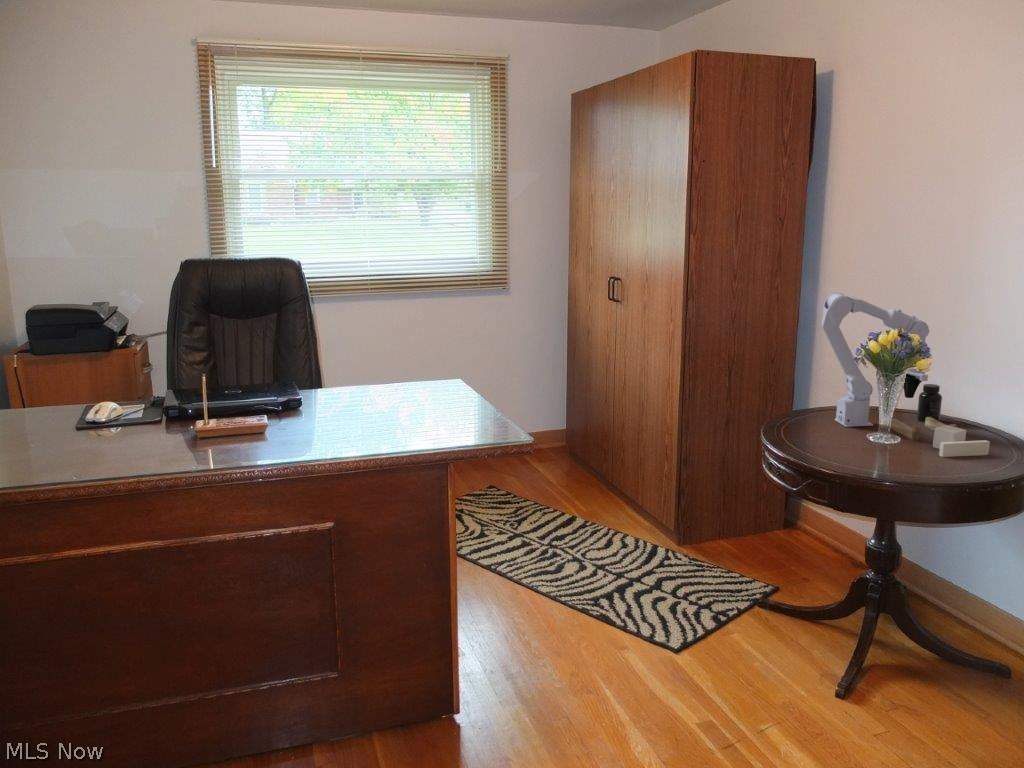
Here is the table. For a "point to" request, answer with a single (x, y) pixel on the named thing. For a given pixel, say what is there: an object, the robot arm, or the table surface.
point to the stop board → (964, 448)
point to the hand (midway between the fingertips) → (909, 397)
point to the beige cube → (948, 435)
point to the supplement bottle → (929, 403)
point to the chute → (916, 427)
